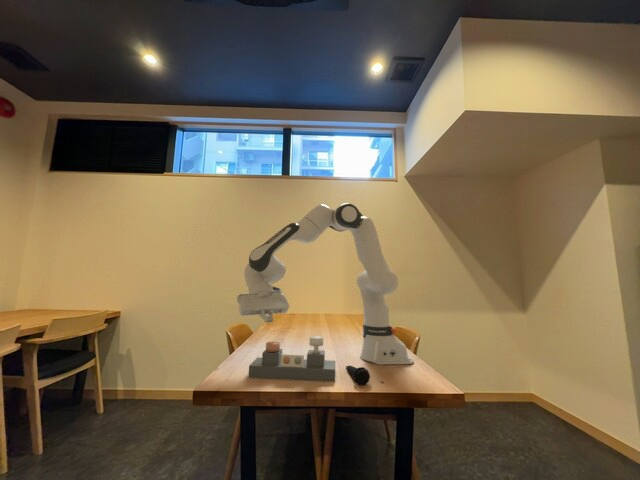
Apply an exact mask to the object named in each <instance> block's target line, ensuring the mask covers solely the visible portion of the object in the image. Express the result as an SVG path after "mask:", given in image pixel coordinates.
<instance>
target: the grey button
mask: <svg viewBox="0 0 640 480" xmlns="http://www.w3.org/2000/svg"><path fill="white" fill-rule="evenodd" d="M323 345H324V337H323V336H318V335H317V336H316V335H315V336H314V335H313V336H310V337H309V346H312V347H313V350H314V353H317V354H318V353H319V349H320V347H322V346H323Z"/></svg>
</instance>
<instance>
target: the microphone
mask: <svg viewBox="0 0 640 480" xmlns="http://www.w3.org/2000/svg"><path fill="white" fill-rule="evenodd" d="M345 368H346V370H347V372H348V373H349V374H350V375H351V376H352V378H353V380H354V383H355V384H356V385H358V386H367V384H369V382H370V378H371V376H370V373H369V370H368V369H366V368H365V367H363V366H362V367H361V366H360V367H355V366H352V365H346V366H345Z"/></svg>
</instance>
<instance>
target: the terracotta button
mask: <svg viewBox="0 0 640 480" xmlns="http://www.w3.org/2000/svg"><path fill="white" fill-rule="evenodd" d="M280 349H281V343H280V341H268V342H267V341H266V344H265V350H266V351H268V352H276V351H279V350H280Z"/></svg>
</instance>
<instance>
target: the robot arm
mask: <svg viewBox="0 0 640 480" xmlns="http://www.w3.org/2000/svg"><path fill="white" fill-rule="evenodd" d="M328 228H331V230H334V231H337V232H345V231H349V232H351V234H352V237H353V240H354V246H355V250H356V254H357V258H358V261H359V262H360V263H361V264H362V266H363V268H364V270H363V271H362V272H360V273H359V274H358V275H357V276H356V277H357V278H356V285H357V288H358V289H359V291H360V295H361V298H362V299H361V300H362V305H363V325H362V347H361V352H360V356H359V358H361V360H363V361H366V362H370V363H374V364H376V365H411V364H413V363H414V358H413V356H411V355H410V354H409V353H408V350H407V346H406V344H405V343H404V342H402V341H401V340H400V339H399V338H398V337H397V336H395V335H394V334H396V333H397V329H396V328H395V327H392V326H391V325H390V315H389V314H390V311H389V306H388V304H387V302H386V301H385V297H384V296H385V295H389V294H392V293H394V292H395V291H396V290H398V289H397V288H398V287H399V279H398V277H397V275H396V273H394V272H393V271H392V270H391V268H390V266H389V265H388V263H387V261H386V259H385V257H384V254H383V252H382V247H381V242H380V239H379V235H378V231H377V228H376V226H375V223H374V221H373V219H372V218H370V217H368V216H363V214H362V213H361V212H360V210H359V209H358V208H357V206H356V205H354V204H353V203H343V204H340V205H339V206H337V207H336V208H335V209H331V208H330V207H329V206H327V205H326V204H321V203H320V204H318V205H316V206H315V207H313V208H312V209H311V210H309V211H308V212H307V213H306V214H305V215H304V216H303V217H302V218H301V219H300V220H298V221H296V222H292V223H289V224H287V225H286V226H284V227H283V228H282V229H280V230H278V232H276V233H275V234H274V235H273V236H272V237H270V238H269V239H267V240H266V241H265V242H264V243H263V244H261V245H259V246H258V247H256V248H254V249H253V250H252V251H251V252H250V254H249V256H248V264H246V266H245V267H244V271H243V273H244V280H245V284H246V287H248V290H247V291H248V293H245V294H243V293H240V294H239V295H237V296H236V300H237V301H236V302H237V303H238V312H239V314H240V315H241V316H257V315H259V316H260V317H261V318H262V319H263V320H264V322H265V324H267V323H268V324H269V323H273V322H274V315H275V314H287V312H288V310H289V309H290V303H289V301H288V299H287V297H286V295H285V294H284V293H283V289H282V288H280V287H277V286H273V285H272V284H275V283H277V282H279V281H280V280H281V279H282V278H283V277H284V276H285V273H286V265H285V263H283V262H282V261H281V260H280V259H279V258H278V257H277V256H276V255H275V253H277V251H278V250H280V249H281V248H282V247H284V246H285V245H286V244H287V243H288V242H290V241H297V242H301V243H304V244H309V243H310V244H311V243H314V242H315V241H316V240H317V239H319V237H321V235H322V234H323V233H324V232H325V231H326V230H327V229H328ZM267 315H268V316H267Z"/></svg>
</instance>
